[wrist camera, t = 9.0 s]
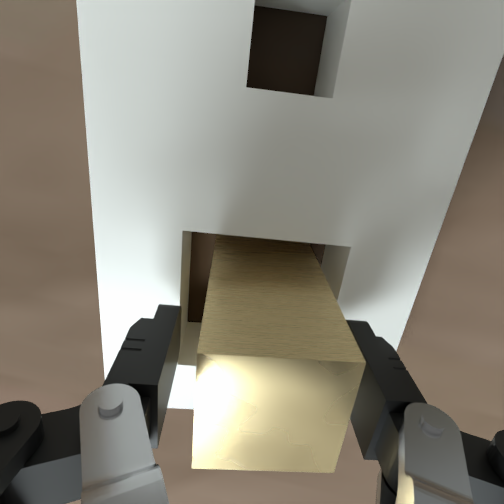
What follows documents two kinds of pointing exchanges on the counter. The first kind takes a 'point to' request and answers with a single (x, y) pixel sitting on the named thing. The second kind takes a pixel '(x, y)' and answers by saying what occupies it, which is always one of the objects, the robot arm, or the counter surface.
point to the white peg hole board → (276, 148)
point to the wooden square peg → (272, 361)
